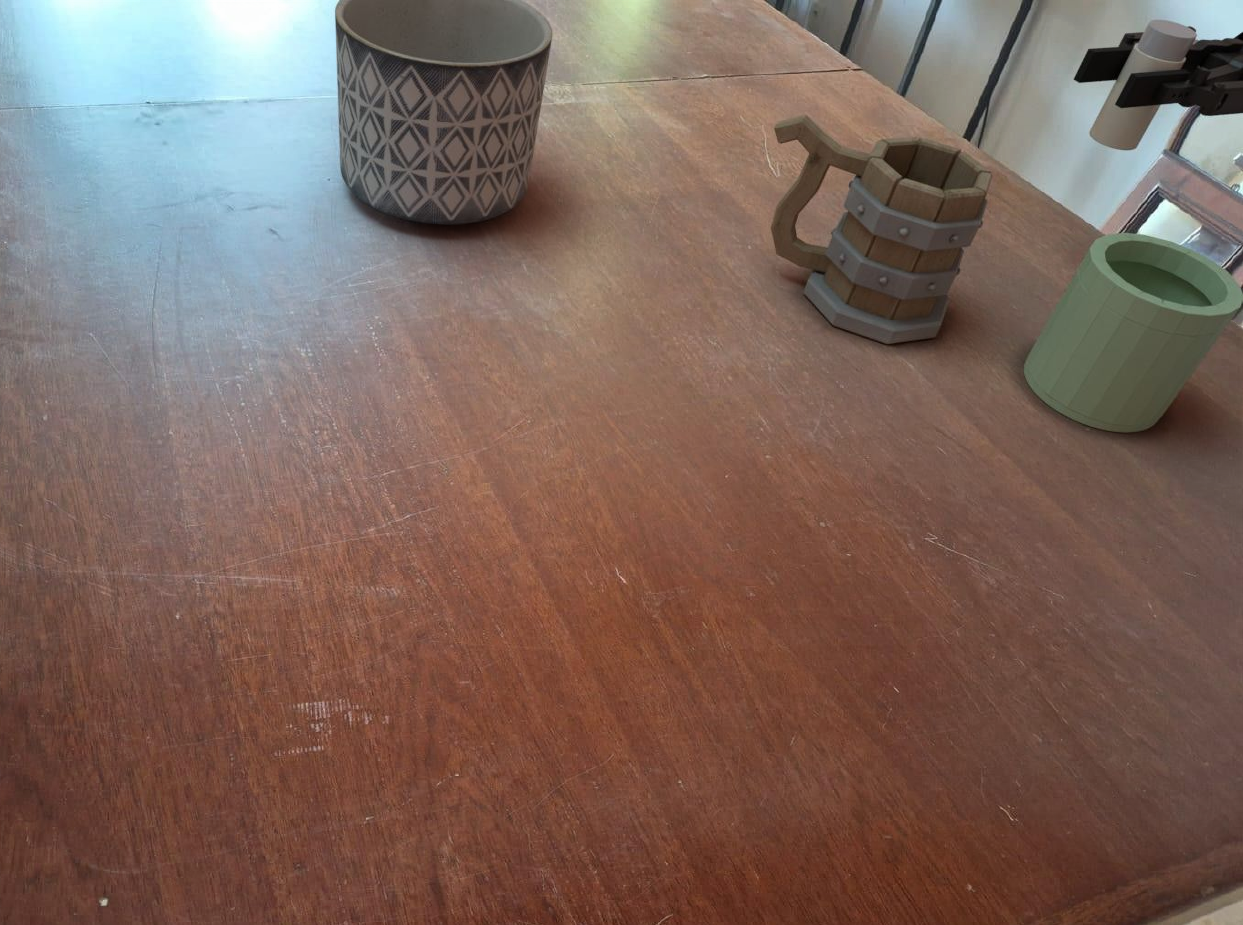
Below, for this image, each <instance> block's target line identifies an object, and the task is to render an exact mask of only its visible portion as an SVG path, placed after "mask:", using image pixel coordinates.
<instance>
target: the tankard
mask: <svg viewBox="0 0 1243 925" xmlns="http://www.w3.org/2000/svg"><path fill="white" fill-rule="evenodd" d="M773 129H774V133H775V137H776V140H777V143H778V144H780V145H782V144H786V143H790V142H793V141H796V140H797V141H798V142H799V143H800V145H801V146H802V147H803V148H804V149H805V150H806V151H807V153H808V155H807V158H806V160H805V162H804V164H803V167H802V169H801V171H800V174H799V175H798V178H797V179H796V181H795V182H794V183H793V184H792V186H790V188H789V189H788V190H787V192H786V193H785V194H784V195H783V197H782V198H781V199H780V200H779V201H778V203H777V205H776V207H775V209H774V210H775V211H774V215H773V218H772V222H771V225H770V231H771V236H772V238H773V245H774V249H775V254H776V255H777V256H779V257H781V258H783V259H785V260H786V261H789V262H791V263H793V264H794V265H796V266H798V267H802V268H805V269H809V270H811V273H810V276H809V277H808V279H807V281H806V284H805V286H804V289H803V294H804V295H805V297H807V299H808V300H809V301H810V302H811V303H812V304H813V305H814V306H815V307H816V309H817V310H819V312H820V313H821V315H823V317H825V318H826V319H827V321H828V322H829V323H830V324H831V325H832V326H833V327H836V328H837V329H838V328H839V329H842V330H844V331H846V332H847V331H848V332H850V333H853V334H856V335H859V336H862V337H865V338H868V339H870V340H874V341H877V342H880V343H883V344H885V345H890V344H897V343H904V342H912V341H918V340H919V341H920V340H926V339H928V340H929V339H934V338H936V337H937V335H938V332H939V331H940V329H941V327H942V324H943V321H944V318H945V315H946V311H947V308H948V305H949V302H950V299H951V298H950V297H949V295H948V294H949V291H950V289H951V287H952V285H953V284H954V281H955V279H956V277H957V276H959V275H960V273H961V268H960V266H961V262H962V259H963V257H964V254H965V253H964V252H965V250H964V249H963V248H967V247H971V245H972V243H973V242H974V240H975V237H976V235H977V233H978V230H979V229H981V228H982V227H983V226H984V221H983V218H984V215H985V211H986V208H987V205H988V200H987V199H986V198H987V195H988V193H989V189H990V186H991V182H992V179H993V174H992V172H991V171H990V170H989V169H988V168H987V167H986V166H984V165H983V164H981V163H980V162H979V161H978V160H976V159H975V158H974V157H972V156H971V155H970V154H969V153H968V152H966V151H965V150H964V151H962V149H961V148H957V147H954V146H951V145H947V144H944V143H941V142H938V141H934V140H930V139H928V138H924V137H919V138H918V137H917V136H905V137H891V138H890V137H889V138H881V139H878V140H877V141H876V142H875V145H874V146H873V148H872V150H871V152H870V153H866V152H864V151H861V150H856V149H854V148H849V147H846V146H842V145H841V144H840V143H838V142H837V141H836V140H834V138H832V137H831V136H830V135H828V134H827V133H826V132H825V131H823V129H821V128H820V127H819V126H818V124H816V123H815V122H814V120H812V119H811V118H810V117H809V116H808V115H807V114H804V115H799V116H796V117H791V118H788V119H784V120H780V121H777V123H776V124H775V125H774V127H773ZM830 167H833V168H836V169H839V170H841V171H844V172H848V173H850V174H853V175H855V176H854V178H853V180H851V181H850V182H849V183H848V188H849V189H848V192H847V195H846V197H845V201H844V202H843V205H842V206H843V208H844V209H845V210H846V211H845V212H843V213H842V216H841V217H840V220H839V221H838V223H837V225H836V227H835V228H832V230H831V231H830V235H831V238H830V241H829V242H828V243H829V244H828V246H821V245H817V244H810V243H807V242H805V241H803V240H802V239H800V238H799V237H798V235H797V234H798V233H797V229H796V226H797V225H796V224H797V221H798V217H799V215H800V213H801V212H802V211H803V210H804V208H805V207H806V206H807V205H808V204H809V203H810V201H811V200H812V199H813V198H814V197H815V195H816V194H817V193H818V192H819V190H820V188H821V186H822V184H823V181H824V180H825V177H826V175H827V173H828V171H829V169H830Z"/></svg>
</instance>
